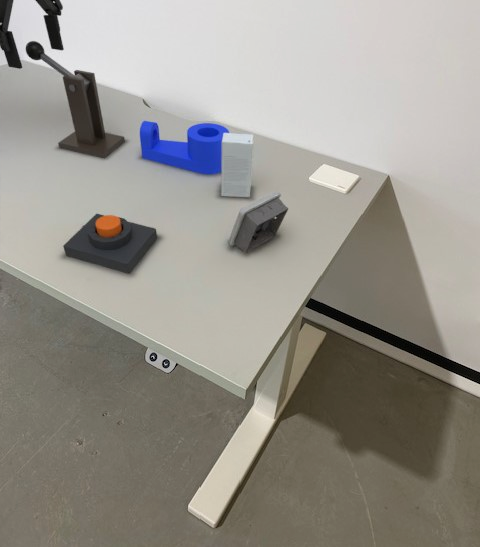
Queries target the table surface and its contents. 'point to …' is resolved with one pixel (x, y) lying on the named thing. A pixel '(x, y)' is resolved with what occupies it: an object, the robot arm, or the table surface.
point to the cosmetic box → (236, 164)
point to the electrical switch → (258, 222)
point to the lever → (50, 60)
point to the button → (108, 226)
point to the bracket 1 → (87, 119)
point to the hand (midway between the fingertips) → (37, 58)
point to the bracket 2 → (185, 147)
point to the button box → (111, 245)
